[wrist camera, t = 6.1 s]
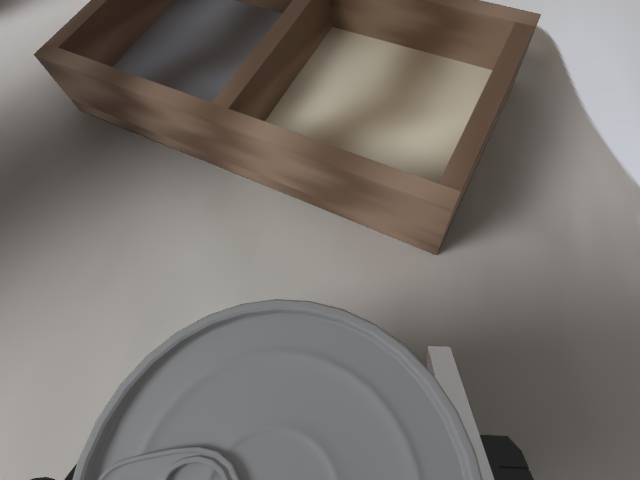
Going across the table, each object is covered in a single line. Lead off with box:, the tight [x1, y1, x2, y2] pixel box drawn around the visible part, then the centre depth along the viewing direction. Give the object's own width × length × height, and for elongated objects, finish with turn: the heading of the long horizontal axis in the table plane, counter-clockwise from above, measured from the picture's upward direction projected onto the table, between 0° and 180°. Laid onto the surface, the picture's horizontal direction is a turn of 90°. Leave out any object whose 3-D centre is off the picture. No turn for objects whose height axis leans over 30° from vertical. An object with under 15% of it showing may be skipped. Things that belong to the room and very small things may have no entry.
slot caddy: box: [34, 0, 541, 255], centre depth 26 cm, size 25×13×4 cm, turn 63°
